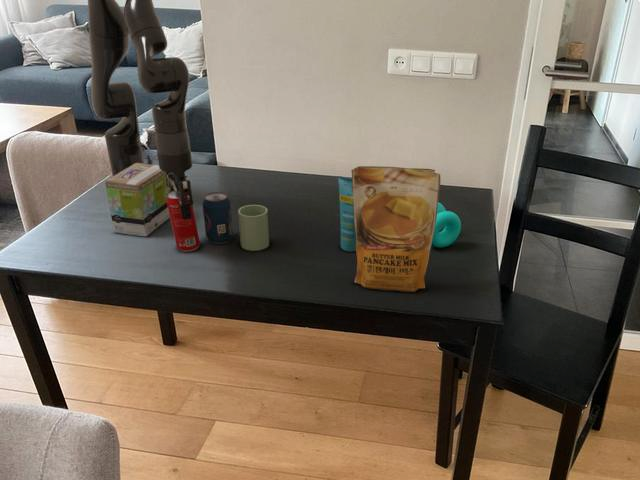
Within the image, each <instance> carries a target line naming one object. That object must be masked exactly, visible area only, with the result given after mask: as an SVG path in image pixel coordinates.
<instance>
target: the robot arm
mask: <svg viewBox="0 0 640 480" xmlns="http://www.w3.org/2000/svg"><path fill="white" fill-rule="evenodd" d="M87 12H88V13H87V14H88V15H87V18H88V38H89V46H90V59H91V78H90V79H91V80H90V81H91V83H90V86H91V87H90V94H91V95H90V98H91V99H90V100H91V105H92V106H91V107H92V110H93V113H94V114H95V116H96V117H97V118H98V119H100V120H115V119H121V120H120V121H119V122H118V123H117V124H116V125H114V126H113V127H111V128H109V129H107V130H106V131H105V132H104V141H105V144H106V149H107V154H108V159H109V165H110V170H111V175H112V177H113V176H114V175H116V174H118V173H119V172H121V171H123V170H125V169H126V168H128V167H130V166H131V165H133V164H135V163H142V164H145V159H144V158H145V157H144V152H143V148H142V141H141V140H142V139H141V136H140V125H139V124H140V123H139V118H138V116H139V115H138V108H137V106H138V105H137V100H136V99H137V98H136V95H135V92H134V89H133V87H132V85H131V84H130V83H129V82H125V81H120V82H111V78H112V76H113V75H114V73H115V71H116V70H117V68H118V67H119V66H120V65H121V63H122V62H123V60H124V59H125V58H126V56H127V54H128V53H129V52H128V51H129V49H130V40H131V42H132V44H133V47H134V50H135V56H136V63H137V77H138V82H139V85H140V86H141V88H142V89H143V90H144V91H145V92H147V93H148V94H151V95H153V94H154V95H155V94H163V93H164V94H165V93H169V94H168V96H167V97H166V98H165V99H163V100H161V101H158V102H157V103H155V104H154V105H152V108H151V114H152V118H153V127H154V140H155V141H154V142H155V148H156V154H157V161H158V165H159V168H160V169H161V170H162V171H164V172H165V174H166V182H167V186H168V187H169V191H170V192H171V191H174V193H175V196H176V197H178V199H179V204H180V208H181V215H182V219H183V220H186V219H191V218H192V215H191V207H190V205H192V206H193V205H194V199H193V193H192V185H191V181H190V180H189V177H188V176H187V175H186V173H185V172H187V171H189V170H191V169H192V167H193V158H192V151H191V150H192V149H191V141H190V136H189V132H188V127H187V117H186V105H187V97H188V96H187V95H188V90H189V85H190V84H189V83H190V72H189V68H188V65H187V64H186V62H185V61H184V60H183V59H181V58H180V57H178V56H177V57H176V56H170V57H161V58H153V57H155V56H158V55H160V54H162V53H164V52H165V51H166V49H167V48H168V39H167V37H166V33H165V32H164V29H163V27H162V24H161V21H160V19H159V17H158V14H157V11H156V8H155V5H154V3H153V0H125V2H124V8H123V9H122V7H121V6H120V5H119V3H118V2H117V1H116V0H87ZM110 82H111V83H110ZM146 158H147V163H146V164H151V157H150V156H149V155H146ZM179 191H180V192H179ZM184 196H186V197H187V200H184Z"/></svg>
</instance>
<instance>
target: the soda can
mask: <svg viewBox="0 0 640 480" xmlns="http://www.w3.org/2000/svg"><path fill="white" fill-rule="evenodd" d="M201 203H202V211H203V213H202V214H203V220H204V221H203V222H204V230H205V237H206V238H207V240H208V241H209V242H210V243H212V244H217V245H221V244H226V243H228V242H230V241H231V240H232V238H233V236H234V227H233V216H232V204H231V200H230V198H229V197H228V194H227V193H225V192H220V191H215V192H213V191H212V192H209V193H207V194H205V195H204V196H203V200H202V202H201Z"/></svg>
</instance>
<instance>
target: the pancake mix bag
mask: <svg viewBox="0 0 640 480" xmlns="http://www.w3.org/2000/svg"><path fill="white" fill-rule="evenodd" d="M350 171H351V178H352V192H353V208H354V224H355V231H356V251H355V252H356V260H357V261H356V263H357V265H356V274H355V276H354V277H355V278H354V282H353V283H354V284H358V285H360V286H362V287H363V288H365V289H372V290H381V291H382V290H383V291H397V292H408V293H409V292H410V293H415V292H417V291H418V290H421V289H425V288H426V283H425V276H426V272H427V269H428V265H429V264H428V263H429V258H430V252H431V248H432V245H431V244H432V239H433V234H434V228H435V223H436V219H437V210H438V202H439V200H440V199H439V198H440V190H441V173H439V172H436V169H431V168H419V167H418V168H416V167H415V168H413V167H409V168H408V167H401V166H400V167H399V166H379V165H378V166H373V165H371V166H370V165H367V166H366V165H362V166H361V165H359V166H356V167H354V168H352V169H351V170H350Z"/></svg>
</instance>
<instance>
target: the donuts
mask: <svg viewBox="0 0 640 480" xmlns="http://www.w3.org/2000/svg"><path fill="white" fill-rule="evenodd" d="M442 229H443V230H442ZM461 230H462V223H461V219H460V217H459V215H457V213H455V212H453V211H449V210H447V209H446V207H445V206H444V205H443V204H442V203H441V202H439V201H438V210H437V219H436V223H435V228H434V234H433V239H432V244H431V247H432V246H433V247H435V248H437V249H439V248H440V249H442V248H446V247H449V246H451V245H452V244H453V243H454V242H455V241H456V240H457V239H458V238H459V236H460V233H461Z"/></svg>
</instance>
